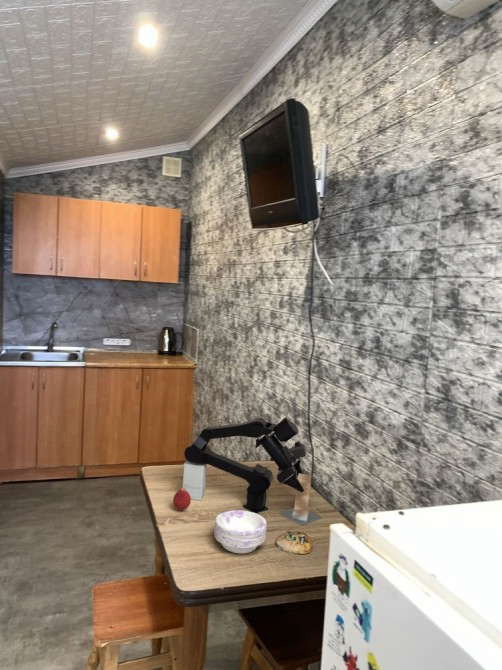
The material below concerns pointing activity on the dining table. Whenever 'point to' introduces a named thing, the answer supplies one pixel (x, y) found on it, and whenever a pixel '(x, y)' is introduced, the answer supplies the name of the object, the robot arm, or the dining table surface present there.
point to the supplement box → (194, 479)
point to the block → (302, 498)
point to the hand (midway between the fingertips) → (304, 486)
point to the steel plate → (288, 514)
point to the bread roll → (294, 542)
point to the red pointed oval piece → (182, 499)
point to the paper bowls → (240, 530)
